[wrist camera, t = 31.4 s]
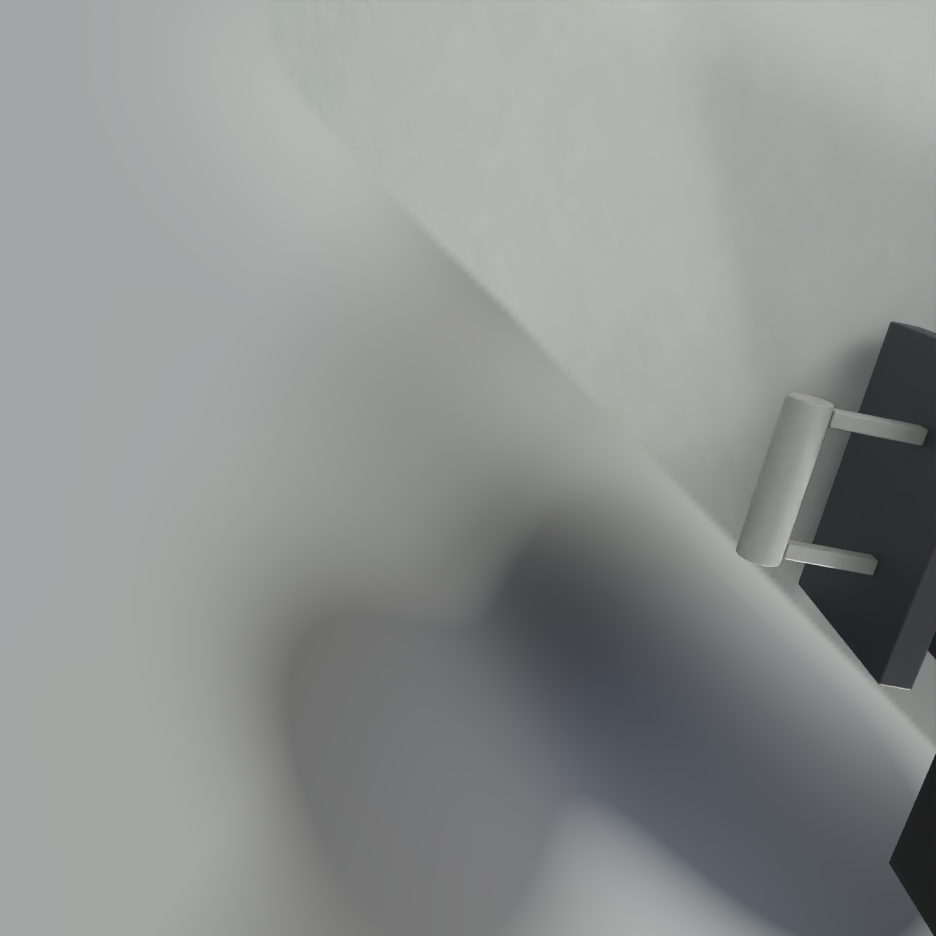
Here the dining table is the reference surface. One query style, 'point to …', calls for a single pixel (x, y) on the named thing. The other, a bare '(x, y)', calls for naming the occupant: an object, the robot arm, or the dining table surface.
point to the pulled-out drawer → (863, 509)
